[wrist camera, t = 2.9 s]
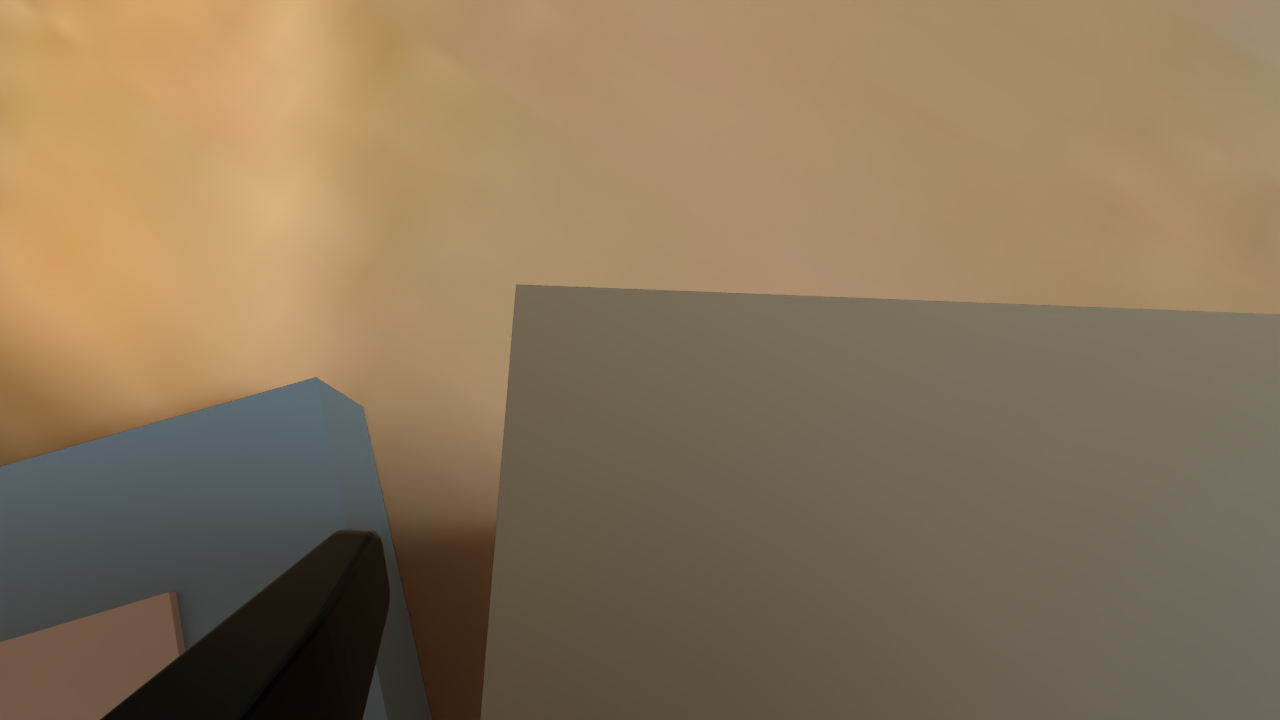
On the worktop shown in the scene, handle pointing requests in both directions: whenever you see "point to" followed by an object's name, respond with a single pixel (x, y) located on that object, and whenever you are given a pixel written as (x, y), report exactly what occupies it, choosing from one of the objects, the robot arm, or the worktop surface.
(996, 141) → the worktop surface
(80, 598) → the plate
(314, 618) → the robot arm
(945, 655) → the pillar
